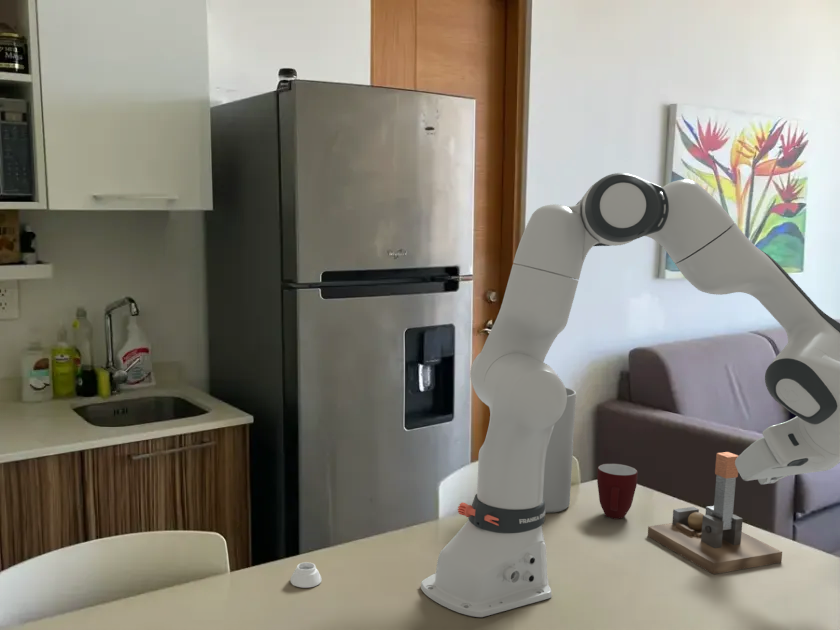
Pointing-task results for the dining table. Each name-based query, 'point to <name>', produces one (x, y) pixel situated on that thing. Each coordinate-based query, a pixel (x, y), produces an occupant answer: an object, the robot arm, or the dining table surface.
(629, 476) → the mug
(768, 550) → the bench
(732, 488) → the lever
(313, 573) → the lidless jar
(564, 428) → the cylinder vase
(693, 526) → the walnut
